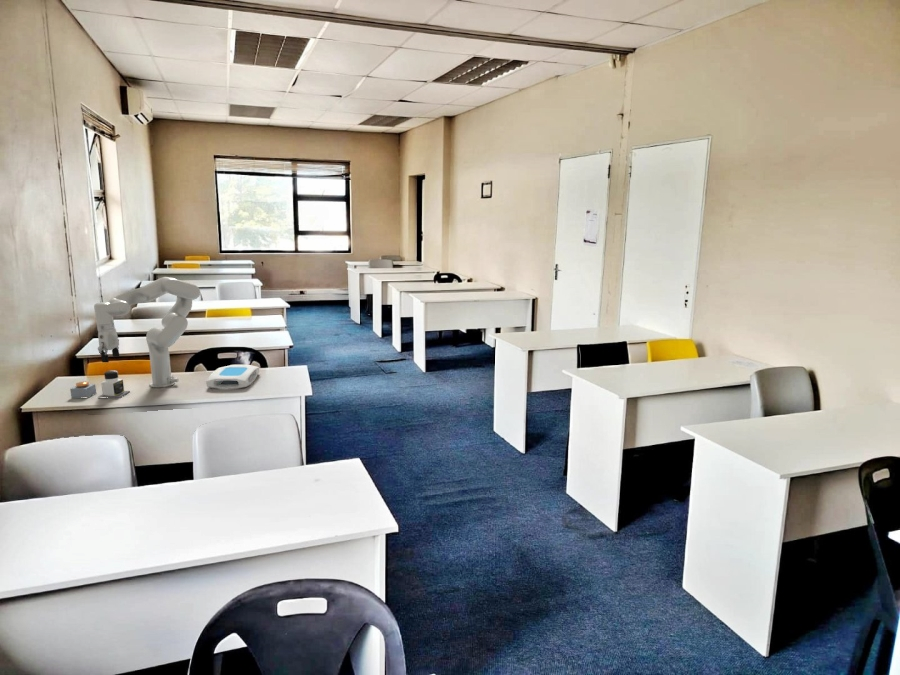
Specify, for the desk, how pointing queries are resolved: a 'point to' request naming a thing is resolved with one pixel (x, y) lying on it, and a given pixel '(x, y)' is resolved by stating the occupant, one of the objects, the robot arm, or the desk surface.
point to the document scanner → (233, 376)
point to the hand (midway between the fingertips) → (110, 359)
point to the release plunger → (82, 384)
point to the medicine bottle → (112, 384)
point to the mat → (116, 395)
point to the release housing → (83, 391)
